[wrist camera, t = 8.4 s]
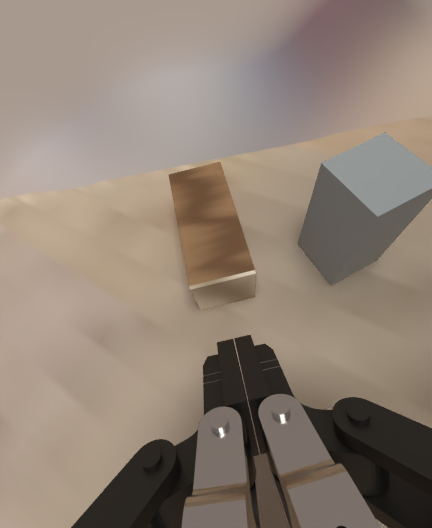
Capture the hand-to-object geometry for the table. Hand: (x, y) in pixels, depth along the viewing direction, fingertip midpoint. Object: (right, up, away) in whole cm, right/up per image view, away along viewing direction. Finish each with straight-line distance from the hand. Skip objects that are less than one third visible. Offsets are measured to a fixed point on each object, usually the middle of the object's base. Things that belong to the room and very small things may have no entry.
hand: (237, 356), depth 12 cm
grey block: (+10, +5, +13) cm, 18 cm away
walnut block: (0, +2, +10) cm, 10 cm away
